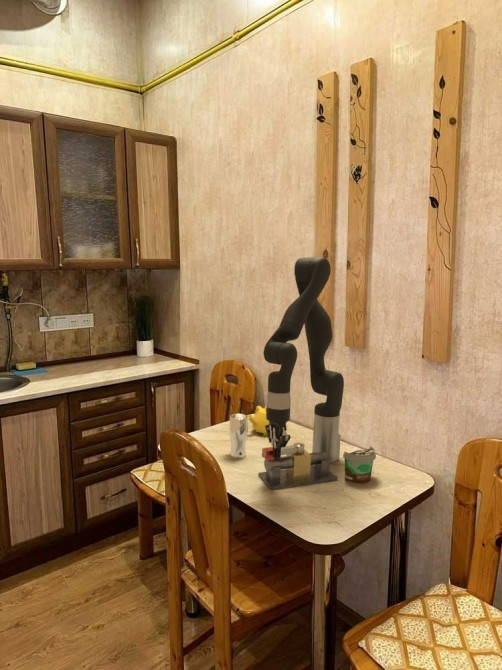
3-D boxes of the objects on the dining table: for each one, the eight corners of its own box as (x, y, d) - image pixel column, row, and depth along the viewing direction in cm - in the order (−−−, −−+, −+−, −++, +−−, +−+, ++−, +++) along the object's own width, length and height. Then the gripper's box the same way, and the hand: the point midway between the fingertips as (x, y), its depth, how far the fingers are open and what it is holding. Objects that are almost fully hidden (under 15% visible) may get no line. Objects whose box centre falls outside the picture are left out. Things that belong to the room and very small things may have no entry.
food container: (353, 487, 150) (355, 458, 149) (341, 480, 156) (343, 451, 154) (382, 480, 156) (384, 452, 155) (369, 473, 161) (371, 446, 160)
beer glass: (245, 459, 170) (246, 420, 168) (226, 457, 171) (227, 418, 169) (248, 452, 177) (250, 414, 175) (231, 450, 178) (232, 412, 176)
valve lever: (300, 449, 157) (300, 442, 157) (306, 453, 154) (306, 445, 154) (261, 455, 151) (261, 448, 151) (266, 459, 148) (266, 452, 147)
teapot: (274, 422, 212) (274, 398, 211) (298, 434, 197) (299, 409, 196) (236, 429, 202) (236, 404, 200) (259, 443, 187) (259, 416, 185)
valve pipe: (321, 466, 166) (322, 442, 164) (337, 480, 155) (338, 454, 154) (258, 475, 157) (259, 450, 156) (270, 490, 147) (271, 463, 146)
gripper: (299, 409, 141) (297, 464, 143) (278, 399, 153) (276, 449, 155) (278, 412, 138) (275, 467, 140) (258, 401, 150) (256, 452, 152)
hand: (276, 458), depth 148 cm, fingers closed
